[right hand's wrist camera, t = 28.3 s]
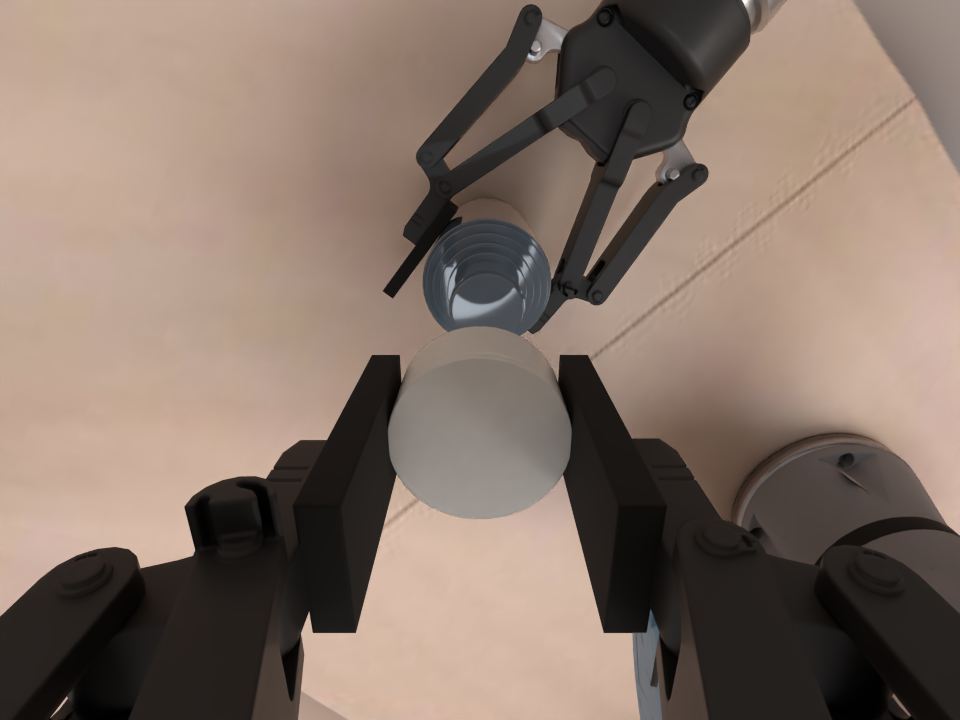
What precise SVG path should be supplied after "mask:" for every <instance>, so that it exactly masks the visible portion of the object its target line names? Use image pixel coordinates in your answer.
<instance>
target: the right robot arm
mask: <svg viewBox="0 0 960 720" xmlns="http://www.w3.org/2000/svg"><path fill="white" fill-rule="evenodd" d="M558 385H559V387H560V390H561V393H562V396H563V399H564V402H565V405H566V408H567V411H568V414H569V417H570V421H571V426H572V436H571V450H570V459H569V461H568V464H567V467H566V469H565V471H564V473H563V476H564V480H565V484H566V488H567V492H568V495H569V499H570V503H571V507H572V511H573V515H574V519H575V523H576V526H577V530H578V534H579V538H580V542H581V546H582V550H583V554H584V558H585V561H586V565H587V569H588V573H589V577H590V581H591V585H592V589H593V592H594V596H595V600H596V604H597V608H598V612H599V616H600V620H601V624H602V627H603V631H604V633H647V628H648V622H649V616H650V609H651V611H652V614H653V616H654V619H655V622H656V624H657V627H658V630H659V637H658V643H657V649H656V655H655V661H654V666H653V672H652V678H651V685H650V686H653V687H657V685H658V681H659V691H660V702H661V712H662V720H960V613H959V612H958V611H956V610H955V609H954V608H953V607H952V606H951V605H950V604H949V603H948V602H947V601H946V600H945V599H944V598H943V597H942V596H941V595H940V594H938V593H937V592H936V591H935V590H934V589H933V588H932V587H931V586H930V585H929V584H928V583H927V582H926V581H925V580H924V579H923V578H921V577H920V576H919V575H918V574H917V573H915V572H914V571H913V570H911V569H910V568H909V567H907V566H906V565H905V564H903V563H902V562H900V561H898V560H896V559H894V558H892V557H890V556H888V555H886V554H884V553H881V552H878V551H876V550H872V549H868V548H865V547H860V546H852V545H841V546H835V547H831V548H830V549H829V550H827V551H826V552H825V553H824V554H823V557H822V561H821V564H820V566H816V565H811V564H806V563H802V562H797V561H793V560H788V559H784V558H780V557H776V556H773V555H769V554H766V552H765V549H764V548H763V546H762V545H761V543H760V542H759V540H758V539H757V538H756V537H755V536H754V535H752V534H751V533H750V532H748V531H747V530H746V529H745V528H743V527H740V526H738V525H736V524H734V523H732V522H730V521H727V520H723V519H721V517H720V516H719V514H718V513H717V511H716V510H715V508H714V507H713V505H712V504H711V502H710V501H709V499H708V498H707V496H706V495H705V493H704V492H703V490H702V489H701V487H700V485H699V484H698V482H697V481H696V480H694V476H693V475H692V473H691V472H690V470H689V469H688V468H686V464H685V463H684V461H683V460H682V458H681V457H680V455H679V454H678V452H677V451H676V450H675V449H673V448H672V447H670V446H669V445H668V444H666V443H665V442H663V441H662V440H661V439H632V438H631V436H630V434H629V433H628V431H627V429H626V427H625V425H624V423H623V421H622V419H621V417H620V416H619V414H618V412H617V410H616V408H615V406H614V404H613V402H612V400H611V399H610V397H609V395H608V393H607V391H606V389H605V387H604V385H603V383H602V382H601V380H600V378H599V376H598V374H597V372H596V370H595V368H594V366H593V365H592V363H591V361H590V359H589V357H588V355H560V362H559V378H558ZM400 387H401V368H400V355H372V356H371V358H370V360H369V362H368V364H367V366H366V368H365V370H364V371H363V373H362V375H361V377H360V379H359V381H358V383H357V385H356V386H355V388H354V390H353V392H352V394H351V396H350V398H349V400H348V402H347V403H346V405H345V407H344V409H343V411H342V413H341V415H340V417H339V419H338V420H337V422H336V424H335V426H334V428H333V430H332V432H331V434H330V436H329V437H328V439H327V440H300V441H299V442H297V443H296V444H295V445H293V446H292V447H290V448H289V449H288V450H286V451H285V452H283V454H282V455H281V457H280V458H279V460H278V461H277V463H276V464H275V466H274V470H271V472H270V473H269V475H268V477H267V478H266V479H264V478H260V477H256V476H247V477H236V478H231V479H226V480H222V481H220V482H217V483H215V484H212V485H210V486H208V487H206V488H204V489H203V490H201V491H200V492H198V493H197V494H195V495H194V496H193V497H192V498H191V499H190V500H189V502H188V503H187V504H186V505H185V511H186V515H187V519H188V523H189V527H190V531H191V535H192V539H193V543H194V547H195V552H194V555H193V556H191V557H188V558H184V559H181V560H177V561H172V562H168V563H163V564H159V565H154V566H150V567H145V568H141V569H140V565H139V562H138V559H137V556H136V555H135V554H134V553H132V552H131V551H130V550H129V549H123V548H118V547H111V548H102V549H96V550H93V551H89V552H86V553H83V554H80V555H77V556H75V557H73V558H71V559H69V560H67V561H65V562H63V563H61V564H59V565H57V566H56V567H55V568H54V569H52V570H51V571H50V572H48V573H47V574H46V575H44V576H43V577H42V578H40V579H39V580H38V581H37V582H36V583H35V584H34V585H33V586H32V587H31V588H30V589H29V590H28V591H27V592H26V593H25V594H24V595H23V596H22V597H20V598H19V599H18V600H17V601H16V602H15V603H14V604H13V605H12V606H11V607H10V608H9V609H8V610H7V611H6V612H5V613H4V614H3V615H1V616H0V720H298V713H299V703H300V693H301V682H302V672H303V662H304V650H303V643H302V637H301V632H302V629H303V626H304V623H305V621H306V618H307V615H308V613H309V612H310V618H311V624H312V630H313V633H356V630H357V626H358V622H359V618H360V614H361V611H362V607H363V603H364V599H365V595H366V591H367V587H368V583H369V580H370V576H371V572H372V568H373V564H374V560H375V556H376V552H377V548H378V545H379V541H380V537H381V533H382V529H383V525H384V521H385V517H386V514H387V510H388V506H389V502H390V498H391V494H392V490H393V486H394V482H395V479H396V475H397V473H396V471H395V470H394V467H393V465H392V462H391V460H390V454H389V441H388V425H389V420H390V416H391V413H392V410H393V407H394V404H395V401H396V398H397V396H398V393H399V390H400ZM893 694H894V695H895V696H896V697H897V698H898V700H899V701H900V702H901V704H902V705H903V706H904V707H905V709H906V710H907V711H908V712H909V714H910V715H911V716H909V715H908V714H907V713H906V712H905V711H904V710H903V709H902V708H901V707H900V706H899V705H898V703H897V702H896V701H895V699H894V698H893V697H892V696H893ZM66 697H68V699H67V701H66V702H65V703H64V704H63V706H62V707H61V708H60V710H59V711H57V712H56V713H55V714H54V715H53V713H54V712H55V711H56V709H57V708H58V707H59V706H60V704H61V703H62V702H63V700H64V699H65V698H66ZM52 715H53V716H52ZM51 716H52V717H51ZM50 717H51V718H50Z"/></svg>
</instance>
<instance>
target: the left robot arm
mask: <svg viewBox="0 0 960 720" xmlns="http://www.w3.org/2000/svg"><path fill="white" fill-rule="evenodd" d="M786 1H787V0H603V1H602V2H601V3H600V5H599V6H598V8H597V9H596V10H595V12H594V13H593V14H592V16H591V17H590V18H589V19H588V20H586V21H585V22H583V23H581V24H579V25H577V26H575V27H573V28H572V29H571V30H569V31H568V30H566V29H564V28H562V27H560V26H558V25H556V24H554V23H553V22H551V21H549V20H547V19H545V18H543V17H542V12H541V10H540V8H538V7H537V6H536V5H533V4H530V5H526V6H525V7H524V8H523V9H522V10H521V12H520V14H519V16H518V19H517V21H516V24H515V26H514V29H513V31H512V34H511V36H510V39H509V41H508V44H507V46H506V48H505V49H504V50H503V51H502V52H501V54H500V55H499V56H498V57H497V58H496V59H495V61H494V62H493V63H492V64H491V65H490V66H489V68H488V69H487V70H486V71H485V72H484V73H483V75H482V76H481V77H480V78H479V79H478V80H477V82H476V83H475V84H474V85H473V86H472V87H471V89H470V90H469V91H468V92H467V93H466V94H465V96H464V97H463V98H462V99H461V100H460V102H459V103H458V104H457V105H456V106H455V107H454V109H453V110H452V111H451V112H450V113H449V114H448V116H447V117H446V118H445V119H444V120H443V121H442V123H441V124H440V125H439V126H438V127H437V128H436V130H435V131H434V132H433V133H432V134H431V135H430V137H429V138H428V139H427V140H426V141H425V142H424V144H423V145H422V146H421V147H420V148H419V150H418V151H417V154H416V159H417V162H418V164H419V165H420V166H421V167H422V169H423V171H424V172H425V174H426V175H427V177H428V179H429V181H430V191H429V193H428V195H427V196H426V198H425V199H424V200H423V202H422V203H421V205H420V206H419V208H418V209H417V210H416V212H415V213H414V215H413V216H412V217H411V219H410V220H409V222H408V223H407V224H406V226H405V229H404V233H403V236H404V237H406V238H407V239H408V240H410V241H411V242H412V243H413V244H415V245H416V246H415V247H414V249H413V250H412V252H411V253H410V254H409V256H408V257H407V258H406V260H405V261H404V262H403V264H402V265H401V267H400V268H399V269H398V271H397V272H396V273H395V275H394V276H393V278H392V279H391V280H390V282H389V283H388V284H387V286H386V287H385V289H384V290H383V292H385V293H386V294H387V295H389V296H390V297H392V298H394V296H395V295H396V293H397V292H398V291H399V289H400V288H401V287H402V285H403V284H404V283H405V281H406V280H407V279H408V277H409V276H410V275H411V273H412V272H413V271H414V269H415V268H416V266H417V265H418V264H419V262H420V261H421V260H422V258H423V257H424V256H425V254H426V253H427V252H428V250H429V249H430V248H431V246H432V245H433V243H434V242H435V241H436V239H437V238H438V237H439V235H440V234H441V233H442V231H443V230H444V229H445V227H446V226H447V225H448V223H449V222H450V220H451V219H452V218H453V216H454V215H455V214H456V212H457V210H458V208H459V207H457V206H456V205H455V204H454V203H452V202H451V201H450V199H451V198H452V196H454V195H455V194H457V193H458V192H460V191H461V190H463V189H464V188H466V187H467V186H469V185H470V184H472V183H473V182H475V181H476V180H478V179H479V178H481V177H482V176H484V175H485V174H487V173H488V172H490V171H491V170H493V169H494V168H496V167H497V166H499V165H500V164H502V163H503V162H505V161H506V160H508V159H509V158H511V157H512V156H514V155H515V154H517V153H518V152H520V151H521V150H523V149H524V148H526V147H527V146H529V145H530V144H532V143H533V142H535V141H536V140H538V139H539V138H541V137H542V136H544V135H545V134H547V133H548V132H550V131H552V130H553V129H555V128H556V127H558V128H559V129H560V130H562V131H563V132H564V133H565V134H566V135H567V136H569V137H571V138H573V139H575V140H578V141H579V142H580V143H581V144H582V146H583V148H584V149H585V151H586V152H587V154H588V155H590V156H591V157H592V158H593V159H594V160H595V161H596V163H595V166H594V168H593V171H592V174H591V180H590V183H589V186H588V188H587V191H586V194H585V196H584V199H583V201H582V204H581V207H580V209H579V212H578V214H577V217H576V220H575V222H574V225H573V227H572V230H571V233H570V235H569V238H568V240H567V243H566V246H565V248H564V251H563V253H562V256H561V259H560V261H559V264H558V266H557V269H556V272H555V274H554V278H553V279H552V280H551V291H550V296H549V300H548V302H547V305H546V308H545V310H544V311H543V313H542V315H541V316H540V318H539V319H538V321H537V322H536V323H535V324H534V325H533V326H532V327H531V328H530V329H529V330H528V331H529V332H530V333H532V334H534V333H535V332H537V331H539V330H540V329H541V328H542V327H543V326H544V325H545V323H546V322H547V321H548V320H549V319H550V318H551V317H552V316H553V314H554V313H555V312H556V311H557V310H558V309H559V308H560V306H561V305H562V304H563V303H564V302H565V301H566V300H568V299H573V298H579V299H582V300H585V301H588V302H590V303H591V304H593V305H600V304H602V303H603V302H605V300H606V299H607V298H608V296H609V295H610V294H611V292H612V291H613V290H614V288H615V287H616V285H617V284H618V283H619V281H620V280H621V279H622V277H623V276H624V275H625V273H626V272H627V270H628V269H629V268H630V266H631V265H632V264H633V262H634V261H635V260H636V258H637V257H638V255H639V254H640V253H641V251H642V250H643V249H644V247H645V246H646V245H647V243H648V242H649V241H650V239H651V238H652V236H653V235H654V234H655V232H656V231H657V230H658V228H659V227H660V226H661V224H662V223H663V221H664V220H665V219H666V217H667V216H668V215H669V213H670V212H671V211H672V209H673V208H674V206H675V205H676V204H677V203H678V202H679V201H680V200H682V199H683V198H684V197H686V196H687V195H688V194H690V193H691V192H693V191H694V190H695V189H697V188H698V187H699V186H701V185H702V184H703V183H704V182H705V181H706V180H707V178H708V169H707V167H706V166H705V165H703V164H697V163H696V162H695V161H694V159H693V157H692V155H691V154H690V152H689V150H688V149H687V147H686V145H685V144H684V142H683V140H682V138H683V136H684V134H685V131H686V127H687V124H688V121H689V119H690V116H691V115H692V113H693V111H694V110H695V109H696V108H697V107H698V105H699V104H700V103H701V102H702V101H703V100H704V98H705V97H706V96H707V95H708V94H709V92H710V91H711V90H712V89H713V88H714V87H715V85H716V84H717V83H718V82H719V81H720V79H721V78H722V77H723V76H724V75H725V73H726V72H727V71H728V70H729V69H730V68H731V66H732V65H733V64H734V63H735V62H736V60H737V59H738V58H739V57H740V56H741V55H742V53H743V52H744V51H745V50H746V49H747V47H748V45H749V42H750V35H751V34H754V33H757V32H759V31H761V30H762V29H763V28H764V27H765V26H766V25H767V24H768V23H769V21H770V20H771V19H772V18H773V17H774V15H775V14H776V13H777V12H778V11H779V9H780V8H781V7H782V6H783V5H784V3H785V2H786ZM549 52H556V53H558V61H557V74H556V87H555V99H554V101H553V102H551V103H550V104H548V105H547V106H545V107H544V108H542V109H541V110H539V111H538V112H537V113H535V114H534V115H532V116H531V117H529V118H528V119H526V120H525V121H523V122H522V123H520V124H519V125H517V126H516V127H515V128H513V129H512V130H510V131H509V132H507V133H506V134H504V135H503V136H501V137H500V138H498V139H497V140H495V141H494V142H492V143H491V144H490V145H488V146H487V147H485V148H484V149H482V150H481V151H479V152H478V153H476V154H475V155H473V156H472V157H470V158H469V159H467V160H466V161H465V162H463V163H462V164H460V165H459V166H457V167H456V168H454V169H453V170H451V171H450V169H449V168H448V166H447V164H446V163H445V161H444V159H443V158H444V157H445V156H446V155H447V154H448V153H449V151H450V150H451V149H452V148H453V147H454V146H455V145H456V143H457V142H458V141H459V140H460V139H461V138H462V137H463V135H464V134H465V133H466V132H467V131H468V130H469V129H470V128H471V126H472V125H473V124H474V123H475V122H476V121H477V120H478V118H479V117H480V116H481V115H482V114H483V113H484V112H485V110H486V109H487V108H488V107H489V106H490V105H491V104H492V102H493V101H494V100H495V99H496V98H497V97H498V96H499V94H500V93H501V92H502V91H503V90H504V89H505V88H506V86H507V85H508V84H509V83H510V82H511V81H512V80H513V78H514V77H515V76H516V75H517V73H518V72H519V71H520V69H521V67H522V66H523V64H524V62H527V63H530V64H536V63H538V62H540V61H541V59H542V58H543V57H544V55H546V54H547V53H549ZM661 151H662V152H663V161H662V163H661V164H660V166H659V167H658V168H657V170H656V174H655V176H656V180H657V181H656V182H655V183H654V184H653V185H652V186H651V187H650V188H649V189H648V190H647V192H646V193H645V194H644V196H643V197H642V198H641V200H640V201H639V203H638V204H637V205H636V207H635V208H634V210H633V211H632V213H631V214H630V215H629V217H628V218H627V220H626V221H625V222H624V224H623V225H622V227H621V228H620V229H619V231H618V232H617V234H616V235H615V237H614V238H613V239H612V241H611V242H610V244H609V245H608V246H607V248H606V249H605V251H604V252H603V254H602V255H601V256H600V258H599V259H598V261H597V262H596V263H595V265H594V266H593V268H592V269H591V270H590V272H589V273H588V275H587V276H586V277H585V276H583V275H584V272H585V270H586V267H587V265H588V262H589V260H590V258H591V255H592V253H593V250H594V248H595V245H596V243H597V240H598V238H599V235H600V233H601V230H602V228H603V226H604V223H605V221H606V218H607V216H608V213H609V211H610V208H611V206H612V203H613V201H614V198H615V196H616V194H617V191H618V189H619V188H620V187H621V185H622V184H623V182H624V180H625V177H626V175H627V172H628V170H629V167H630V165H631V163H632V160H634V159H637V158H641V157H644V156H647V155H651V154H654V153H657V152H661ZM732 523H734V524H736V525H738V526H740V527H743V528H745V529H746V530H747V531H748V532H750V533H751V534H752V535H754V536H755V537H756V538H757V539H758V540H759V542H760V543H761V545H762V546H763V548H764V549H765V552H766V554H769V555H773V556H776V557H780V558H784V559H788V560H793V561H797V562H802V563H806V564H811V565H816V566H820V564H821V561H822V557H823V554H824V553H825V552H826V551H827V550H829V549H830V548H831V547H835V546H841V545H852V546H860V547H865V548H868V549H872V550H876V551H878V552H881V553H884V554H886V555H888V556H890V557H892V558H894V559H896V560H898V561H900V562H902V563H903V564H905V565H906V566H907V567H909V568H910V569H911V570H913V571H914V572H915V573H917V574H918V575H919V576H920V577H921V578H923V579H924V580H925V581H926V582H927V583H928V584H929V585H930V586H931V587H932V588H933V589H934V590H935V591H936V592H937V593H938V594H940V595H941V596H942V597H943V598H944V599H945V600H946V601H947V602H948V603H949V604H950V605H951V606H952V607H953V608H954V609H955V610H956V611H958V612H959V613H960V535H958V534H957V533H956V532H955V531H954V530H952V529H951V528H950V527H949V526H948V525H947V524H946V523H945V521H944V519H943V518H942V516H941V514H940V513H939V511H938V510H937V508H936V506H935V505H934V503H933V501H932V500H931V498H930V497H929V495H928V493H927V492H926V490H925V489H924V487H923V485H922V484H921V482H920V480H919V479H918V477H917V476H916V474H915V473H914V472H913V470H912V469H911V468H910V466H909V465H908V464H907V463H906V462H905V461H904V460H902V459H901V458H900V457H898V456H897V455H896V454H894V453H893V452H892V451H890V450H889V449H887V448H886V447H885V446H883V445H881V444H880V443H878V442H876V441H874V440H871V439H868V438H865V437H861V436H857V435H849V434H829V435H822V436H816V437H812V438H808V439H805V440H802V441H799V442H797V443H794V444H792V445H790V446H787V447H785V448H783V449H782V450H780V451H778V452H776V453H775V454H774V455H772V456H771V457H769V458H768V459H767V460H765V461H764V462H763V463H762V464H761V465H759V466H758V467H757V468H756V469H755V470H754V471H753V473H752V474H751V475H750V476H749V477H748V479H747V480H746V481H745V483H744V484H743V486H742V487H741V489H740V491H739V493H738V495H737V498H736V501H735V504H734V508H733V514H732ZM658 637H659V630H658V627H657V624H656V622H655V619H654V616H653V614H652V611H651V609H650V616H649V622H648V628H647V633H633V654H634V668H635V679H636V688H637V697H638V705H639V712H640V719H641V720H662V712H661V702H660V691H659V681H658V685H657V687H653V686H650V685H651V678H652V672H653V666H654V661H655V655H656V649H657V643H658ZM892 697H893V698H894V699H895V701H896V702H897V703H898V705H899V706H900V707H901V708H902V709H903V710H904V711H905V712H906V713H907V714H908V715H909V716H911V715H910V714H909V712H908V711H907V710H906V709H905V707H904V706H903V705H902V704H901V702H900V701H899V700H898V698H897V697H896V696H895V695H894V694H893V696H892Z"/></svg>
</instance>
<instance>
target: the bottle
mask: <svg viewBox="0 0 960 720" xmlns="http://www.w3.org/2000/svg"><path fill="white" fill-rule="evenodd" d="M423 291H424V296H425V300H426V303H427V306H428V308H429V310H430V312H431V314H432V315H433V317H434V318H435V320H436V321H437V322H438V323H439V324H440V325H441V326H442V327H443V328H444V329H445V330H446V331H447V332H450V331H453V330H457V329H461V328H465V327H474V326H486V327H494V328H499V329H503V330H507V331H509V332H512V333H514V334H517V335H519V336H520V335H522V334H524V333H525V332H526V331H527V330H529V329H530V328H531V327H532V326H533V325H534V324H535V323H536V322H537V321H538V319H539V318H540V316H541V315H542V313H543V311H544V310H545V308H546V305H547V302H548V300H549V296H550V291H551V273H550V267H549V264H548V260H547V258H546V256H545V254H544V251H543V250H542V248H541V246H540V245H539V243H538V241H537V240H536V238H535V236H534V235H533V233H532V231H531V229H530V228H529V226H528V224H527V223H526V221H525V220H524V218H523V216H522V215H521V214H520V213H519V212H518V211H517V210H516V209H515V208H514V207H512V206H511V205H509V204H507V203H505V202H503V201H500V200H497V199H492V198H482V199H476V200H472V201H470V202H467V203H465V204H463V205H462V206H460V207H459V208H458V210H457V212H456V214H455V215H454V216H453V218H452V219H451V220H450V222H449V223H448V225H447V226H446V227H445V229H444V230H443V231H442V233H441V234H440V235H439V237H438V239H437V241H436V242H435V244H434V246H433V248H432V250H431V252H430V254H429V256H428V258H427V260H426V264H425V267H424V273H423Z"/></svg>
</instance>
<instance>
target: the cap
mask: <svg viewBox="0 0 960 720" xmlns="http://www.w3.org/2000/svg"><path fill="white" fill-rule="evenodd" d="M571 436H572V426H571V421H570V417H569V414H568V411H567V408H566V405H565V402H564V399H563V396H562V393H561V390H560V387H559V385H558V382H557V379H556V376H555V374H554V371H553V369H552V367H551V365H550V364H549V362H548V360H547V359H546V358H545V356H544V355H543V354H542V353H541V352H540V351H539V350H538V349H537V348H536V347H535V346H534V345H533V344H531V343H530V342H529V341H527V340H526V339H524V338H522V337H521V336H519V335H517V334H514V333H512V332H509V331H507V330H503V329H499V328H494V327H486V326H474V327H465V328H461V329H457V330H453V331H450V332H448V333H445V334H443V335H441V336H439V337H437V338H436V339H434V340H432V341H431V342H430V343H428V344H427V345H426V346H424V347H423V348H422V349H421V350H420V351H419V352H418V353H417V355H416V356H415V357H414V359H413V360H412V361H411V363H410V365H409V367H408V368H407V370H406V373H405V375H404V378H403V381H402V384H401V387H400V390H399V393H398V396H397V398H396V401H395V404H394V407H393V410H392V413H391V416H390V420H389V425H388V441H389V454H390V460H391V462H392V465H393V467H394V470H395V471H396V473H397V475H398V477H399V479H400V480H401V481H402V483H403V484H404V485H405V487H406V488H407V489H408V490H409V491H410V492H411V493H412V494H413V495H414V496H416V497H417V498H418V499H419V500H421V501H422V502H424V503H425V504H427V505H428V506H430V507H432V508H434V509H436V510H438V511H440V512H443V513H446V514H449V515H452V516H457V517H461V518H469V519H491V518H499V517H503V516H508V515H511V514H514V513H517V512H519V511H521V510H524V509H526V508H528V507H530V506H531V505H533V504H534V503H536V502H538V501H539V500H540V499H542V498H543V497H544V496H545V495H547V494H548V492H549V491H550V490H551V489H552V488H553V487H554V486H555V485H556V484H557V482H558V481H559V479H560V478H561V476H562V475H563V473H564V471H565V469H566V467H567V464H568V461H569V459H570V450H571Z"/></svg>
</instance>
